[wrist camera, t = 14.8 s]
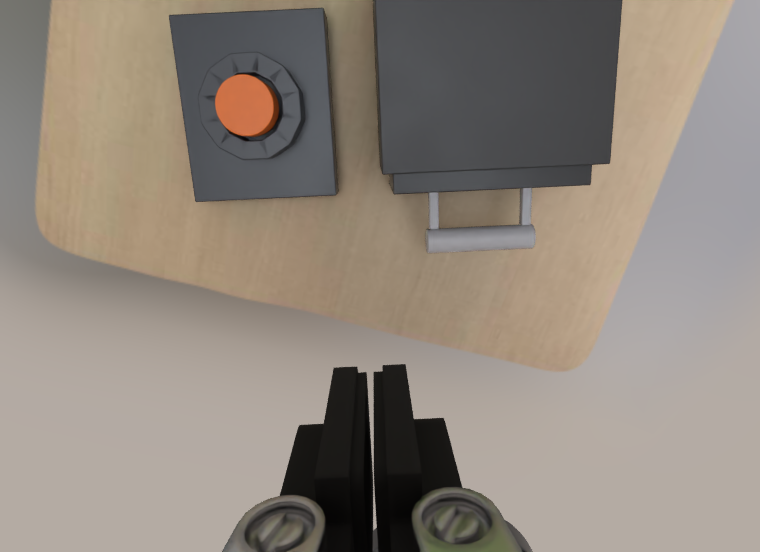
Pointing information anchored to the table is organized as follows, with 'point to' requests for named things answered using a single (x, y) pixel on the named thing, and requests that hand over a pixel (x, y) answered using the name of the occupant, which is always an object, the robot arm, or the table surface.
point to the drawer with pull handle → (486, 180)
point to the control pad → (291, 86)
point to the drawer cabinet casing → (494, 83)
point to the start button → (246, 105)
